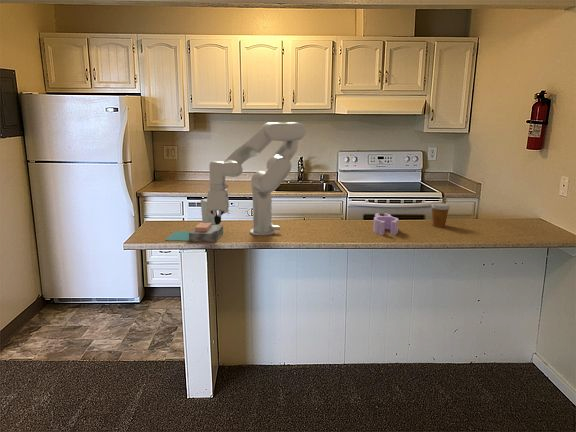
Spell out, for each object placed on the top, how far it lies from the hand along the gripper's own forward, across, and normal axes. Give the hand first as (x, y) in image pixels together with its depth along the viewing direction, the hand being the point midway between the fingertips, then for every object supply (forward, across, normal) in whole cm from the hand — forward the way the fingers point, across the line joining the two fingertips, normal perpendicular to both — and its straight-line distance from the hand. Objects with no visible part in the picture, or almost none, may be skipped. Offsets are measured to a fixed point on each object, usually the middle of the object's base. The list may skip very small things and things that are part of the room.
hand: (217, 223), depth 220 cm
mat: (+7, +18, 0) cm, 20 cm away
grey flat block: (+7, +6, 0) cm, 9 cm away
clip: (+5, -84, -21) cm, 87 cm away
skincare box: (+7, +9, -20) cm, 23 cm away
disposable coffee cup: (+4, -115, -32) cm, 119 cm away
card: (+3, +7, 0) cm, 8 cm away
